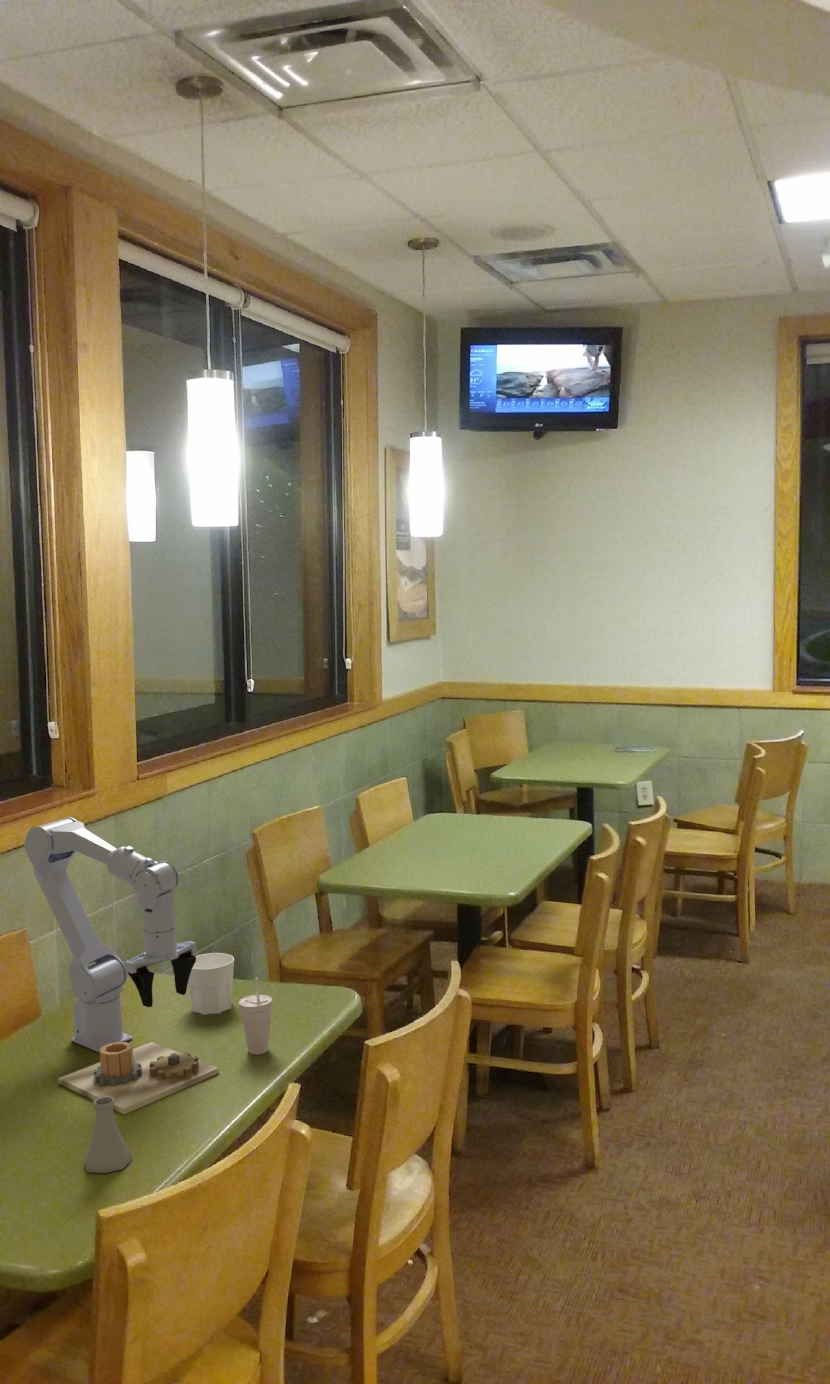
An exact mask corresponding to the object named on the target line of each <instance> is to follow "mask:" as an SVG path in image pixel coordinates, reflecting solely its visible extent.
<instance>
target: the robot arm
mask: <svg viewBox="0 0 830 1384" xmlns="http://www.w3.org/2000/svg"><path fill="white" fill-rule="evenodd" d="M23 848H24V851H25V852H26V854H27V856H28V858H29V860H30V862H31V865H32V867H33V872H34V875H35V878H36V880H37V882H38V884H39V887H40V889H41V890H42V893H43V895H44V897H45V899H46V901H47V903H48V905H49V907H50V910H51V911H52V914H53V916H54V918H55V921H56V922H57V925H58V927H59V929H60V931H61V933H62V935H63V937H64V939H65V942H66V943H67V945H68V948H69V950H70V952H71V953H72V955H73V956H72V959H71V960H70V961H71V962H70V964H69V966H68V967H67V974H68V976H69V977H70V982H71V983H70V985H71V989H72V992H73V993H74V996H75V997H76V999H75V1001H74V1004H73V1008H72V1011H73V1012H72V1013H73V1023H74V1024H73V1025H74V1026H73V1027H74V1036H73V1037H71V1041H72V1042H74V1043H76V1044H78V1045H81V1046H83V1047H85V1048H87V1049H90V1050H93V1051H95V1052H97V1053H100V1049H101V1048H102V1047H103V1046H105V1045H107V1044H110V1043H114V1042H129V1041H131V1040H133V1036H132V1035H130V1034H129V1033H128V1034H127V1033H125V1032H124V1029H123V1028H124V1027H123V1014H122V1002H121V1001H122V1000H121V993H122V992H123V986H124V985H125V984H126V983H127V979H128V976H129V978H130V979H131V981H133V983H134V984H133V985H135V987H136V990H137V991H138V994H139V996H140V1000H141V1003H142V1006H144V1007H146V1008H151V1007H153V1002H154V1000H153V999H154V997H153V982H154V978H155V977H154V976H155V973H154V972H152V971H150V970H149V967H151V966H155V965H159V964H160V963H161V964H162V963H164V962H167V961H170V962H171V966H172V969H173V976H174V987H175V991H176V994H178V995H180V996H181V995H182V996H184V995H186V994H187V989H188V980H189V976H190V973H191V970H192V968H193V966H194V964H195V962H196V956H197V955H195V954H196V953H197V944H196V942H195V941H192V940H188V941H187V940H186V941H183V942H180V943H177V934H176V933H177V932H176V918H175V917H176V916H175V905H174V904H175V901H174V900H175V899H174V890H175V889H176V888H178V885H179V881H180V879H179V878H180V877H179V876H180V875H179V872H178V870H177V868H176V867H175V866H174V865H173V864H172V863H170V862H169V861H167V860H160V861H159V862H158V861H156V860H155V861H154V859H153V858H151V857H147V856H144V855H142V854H140V853H139V852H137V851H135V848H134V847H132V846H131V845H128V846H120V847H118V848H116V847H115V846H113V845H111V844H110V843H108V842H106V840H104V839H102V838H101V837H100V836H97V835H96V834H94V833H93V832H91V831H89V830H88V829H86V826H85V823H84V822H82V821H79V820H77V819H75V818H73V817H70V816H67V817H64V818H62V819H60V820H59V819H58V820H55V821H52V822H48V823H44V824H42V825H41V824H40V825H36V826H33V827H31V828H30V829H29V830H28V831H27V833H26V836H25V840H24V844H23ZM76 853H80V854H82V855H84V856H87V857H89V858H90V859H93V860H96V861H98V862H100V863H102V864H104V865H106V868H107V871H108V873H109V875H112V876H114V877H116V878H117V879H118V880H121V881H123V882H125V883H127V884H128V885H129V886H132V887H133V889H134V892H135V893H136V895H137V896H138V899H139V905H140V907H141V908H142V920H143V921H142V922H143V934H144V946H145V947H144V952H142V953H140V954H138V955H136V956H135V957H133V958H130V959H128V960H126V961H125V962H124V961H123V960H122V959H121V958H120V957H119V956H118V955H117V954H116V952H115V950H114V947H111V946H109V945H106V944H103V943H102V942H101V941H100V940H99V937H98V935H97V933H96V931H95V930H94V926H93V924H92V923H91V920H90V919H89V916H88V914H87V912H86V910H85V909H84V906H83V904H82V902H81V900H80V897H79V895H78V894H77V891H76V890H75V888H74V886H73V883H72V881H71V879H70V877H69V874H68V873H67V868H68V865H69V863H70V862H71V860H72V859H73V857H74V855H75V854H76ZM194 953H195V954H194ZM193 954H194V955H193ZM91 964H92V965H91Z"/></svg>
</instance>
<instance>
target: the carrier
mask: <svg viewBox="0 0 830 1384" xmlns="http://www.w3.org/2000/svg"><path fill="white" fill-rule="evenodd" d="M133 1059H134V1061H135V1063H136V1064H137V1063H140V1064H141V1067H142V1075H141V1076H138V1079H137V1080H136V1081H130V1082H128V1083H129V1084H125V1085H123V1084H119V1085H116V1086H111V1085H105V1086H101V1085H100V1083H95V1082H94V1070H98V1067H99V1066H101V1064H100V1061H99V1062H97V1063H93V1064H92V1065H89V1066H86V1067H83V1068H82V1069H79V1070H76V1071H74V1072H70V1073H68V1074H65V1075H63V1076H61V1077H58V1079H57V1080H58V1085H61V1086H63V1087H65V1088H68V1089H69V1090H71V1091H74V1092H75V1093H77V1094H79V1095H81V1096H84V1097H86V1098H88V1099H90V1100H92V1101H94V1100H95V1099H97V1098H100V1097H104V1096H109V1097H113V1098H114V1101H115V1102H114V1104H113V1111H116V1112H118V1113H120V1114H121V1115H126V1114H129V1113H131V1112H133V1111H137V1110H138V1109H140V1108H142V1107H145V1106H147V1105H149V1104H152V1103H154V1102H157V1101H158V1100H161V1099H163V1098H166V1097H167V1096H170V1095H172V1094H175V1093H176V1092H180V1091H181V1090H184V1089H185V1088H186V1089H187V1088H189V1087H190V1086H192V1085H193V1086H194V1085H196V1084H197V1083H198V1084H199V1083H200V1082H202V1081H204V1080H206V1079H209V1078H211V1077H213V1076H217V1075H219V1073H220V1072H219V1067H217V1066H214V1065H212V1064H209V1063H206V1062H204V1061H201V1060H199V1057H198V1056H197V1055H195V1056H194V1055H193V1056H191V1053H188V1052H185V1053H184V1054H183V1053H181V1052H179V1051H176V1050H173V1049H171V1048H168V1047H166V1046H164V1045H162V1044H158V1043H155V1042H153V1041H150V1042H148V1043H145V1044H143V1045H139V1046H138V1047H135V1048H133Z"/></svg>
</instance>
